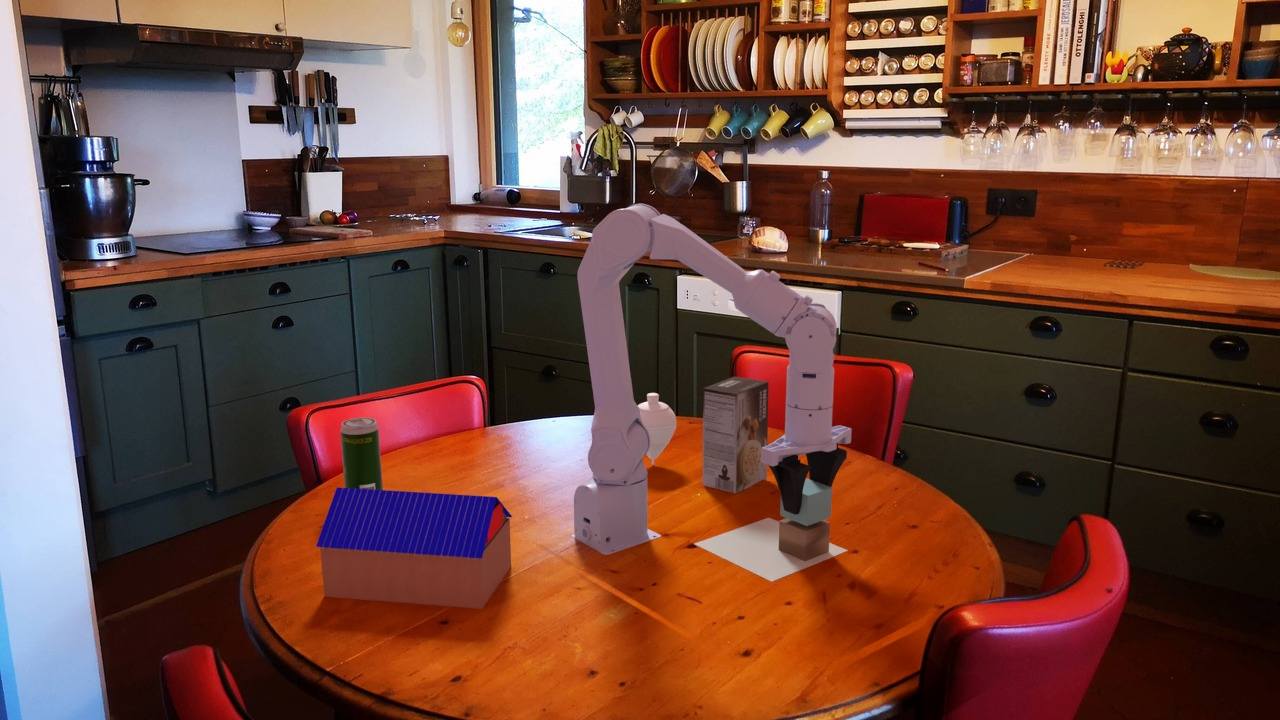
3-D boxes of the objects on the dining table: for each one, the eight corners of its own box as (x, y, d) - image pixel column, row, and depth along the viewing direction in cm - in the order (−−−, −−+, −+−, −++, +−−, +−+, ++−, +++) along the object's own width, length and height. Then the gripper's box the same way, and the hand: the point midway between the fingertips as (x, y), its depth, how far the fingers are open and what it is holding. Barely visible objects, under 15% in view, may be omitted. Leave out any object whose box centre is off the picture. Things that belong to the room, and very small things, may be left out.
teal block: (806, 526, 120) (808, 495, 119) (780, 515, 123) (781, 485, 122) (830, 517, 122) (832, 487, 122) (803, 506, 126) (805, 477, 125)
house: (365, 556, 125) (358, 470, 122) (514, 566, 122) (511, 479, 119) (320, 599, 113) (312, 505, 111) (484, 612, 110) (480, 516, 107)
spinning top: (622, 461, 160) (621, 391, 157) (663, 454, 163) (663, 385, 160) (641, 475, 153) (641, 402, 150) (684, 468, 156) (685, 396, 153)
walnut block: (804, 561, 121) (806, 531, 120) (778, 549, 124) (779, 520, 123) (828, 551, 124) (830, 522, 123) (802, 540, 127) (803, 512, 126)
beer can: (389, 500, 143) (384, 423, 140) (354, 509, 140) (348, 430, 137) (374, 490, 147) (368, 415, 144) (340, 499, 144) (333, 421, 141)
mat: (771, 586, 116) (771, 581, 116) (693, 548, 126) (693, 543, 126) (847, 554, 124) (847, 550, 124) (768, 521, 135) (768, 517, 135)
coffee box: (732, 472, 154) (734, 374, 151) (767, 480, 151) (770, 381, 147) (700, 488, 147) (702, 387, 144) (736, 498, 144) (738, 393, 140)
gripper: (793, 421, 112) (789, 531, 115) (872, 400, 121) (867, 502, 124) (749, 408, 117) (747, 513, 120) (828, 389, 126) (824, 487, 129)
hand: (805, 507), depth 123 cm, fingers closed on teal block, 4 cm apart
